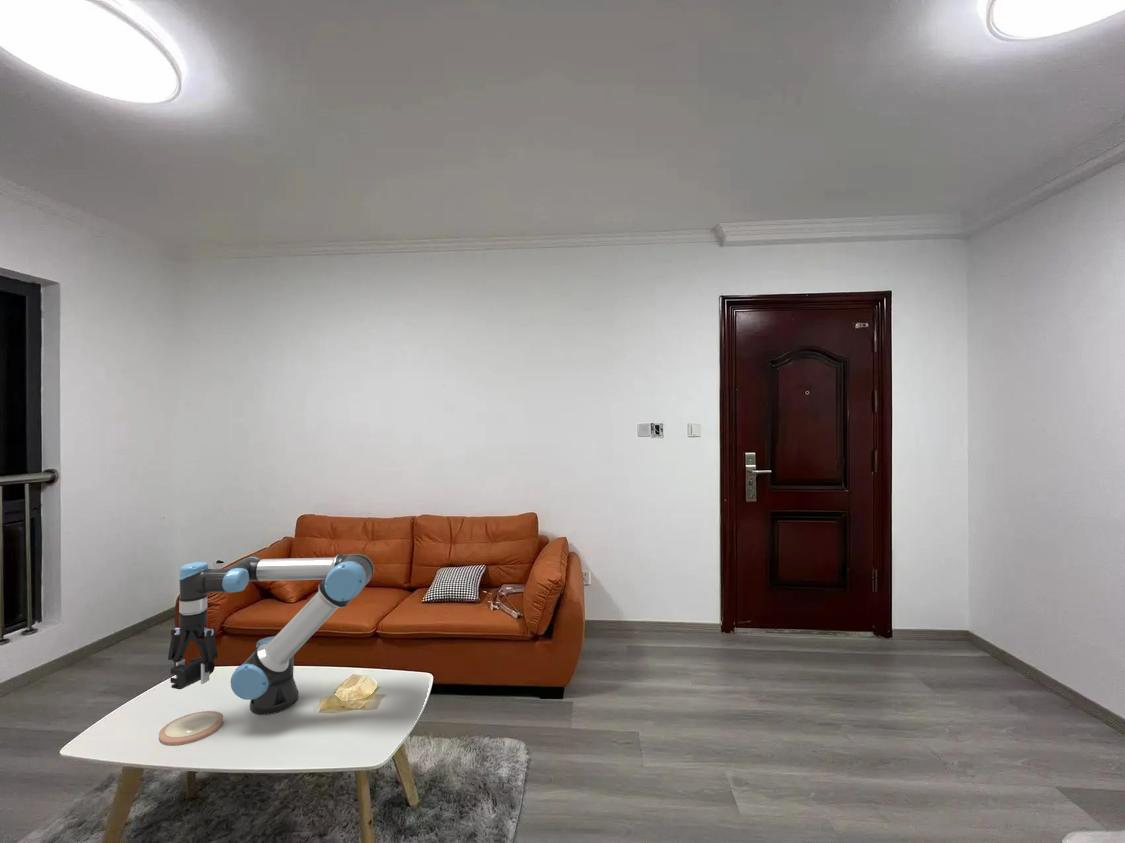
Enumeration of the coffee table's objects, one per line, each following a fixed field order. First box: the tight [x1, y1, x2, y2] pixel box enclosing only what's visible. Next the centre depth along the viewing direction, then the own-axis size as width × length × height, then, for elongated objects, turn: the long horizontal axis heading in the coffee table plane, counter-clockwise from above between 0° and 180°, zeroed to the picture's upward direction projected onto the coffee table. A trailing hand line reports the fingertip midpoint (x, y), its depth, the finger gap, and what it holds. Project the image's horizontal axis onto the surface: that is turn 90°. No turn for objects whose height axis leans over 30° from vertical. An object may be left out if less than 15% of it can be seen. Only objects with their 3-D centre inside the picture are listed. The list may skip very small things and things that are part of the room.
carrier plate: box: [158, 710, 224, 746], centre depth 167 cm, size 17×17×2 cm
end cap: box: [169, 656, 216, 690], centre depth 168 cm, size 10×7×7 cm
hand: (192, 681), depth 168 cm, fingers closed on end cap, 8 cm apart
